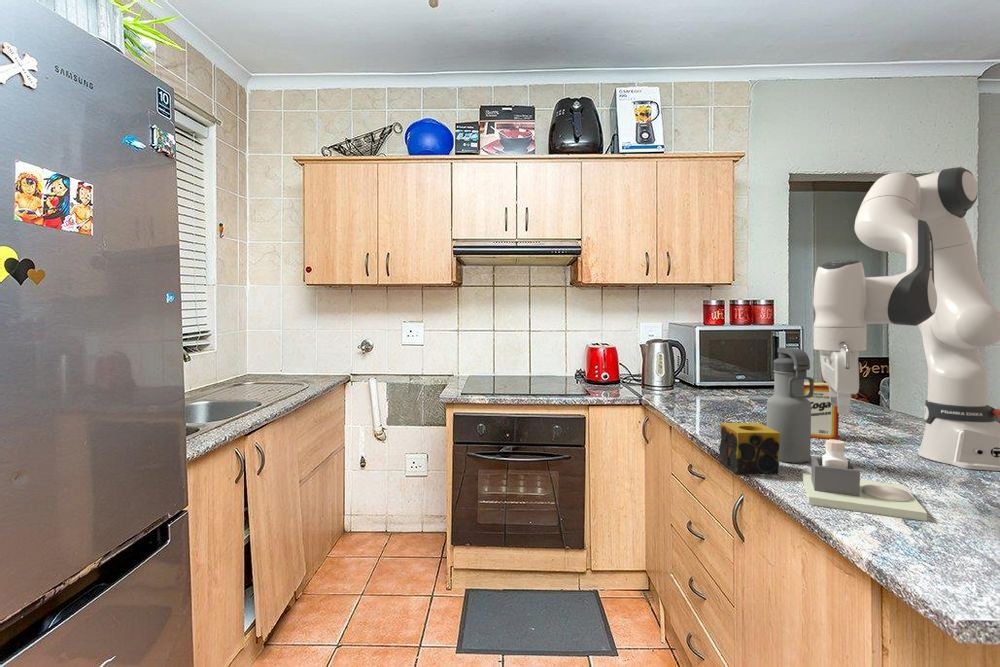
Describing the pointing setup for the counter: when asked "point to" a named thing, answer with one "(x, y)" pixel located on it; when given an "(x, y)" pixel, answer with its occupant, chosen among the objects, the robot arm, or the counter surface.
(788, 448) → the water bottle
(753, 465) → the candle
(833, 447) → the salt shaker
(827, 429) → the baking soda box
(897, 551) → the counter surface
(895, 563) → the counter surface
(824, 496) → the cream holder tray
